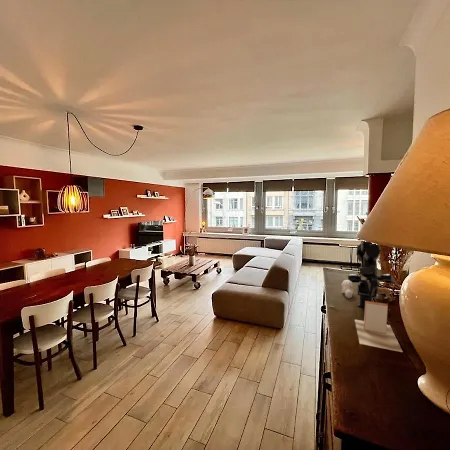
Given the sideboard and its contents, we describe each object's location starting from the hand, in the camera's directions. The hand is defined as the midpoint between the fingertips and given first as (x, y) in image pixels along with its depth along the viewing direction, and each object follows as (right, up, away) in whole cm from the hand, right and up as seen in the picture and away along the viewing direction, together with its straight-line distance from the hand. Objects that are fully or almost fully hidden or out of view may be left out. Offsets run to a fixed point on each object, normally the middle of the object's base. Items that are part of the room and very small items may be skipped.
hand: (370, 296), depth 118 cm
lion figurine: (+21, -10, +28) cm, 36 cm away
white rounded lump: (+5, -9, +32) cm, 34 cm away
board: (-6, -13, -14) cm, 20 cm away
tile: (-5, -12, -11) cm, 17 cm away
